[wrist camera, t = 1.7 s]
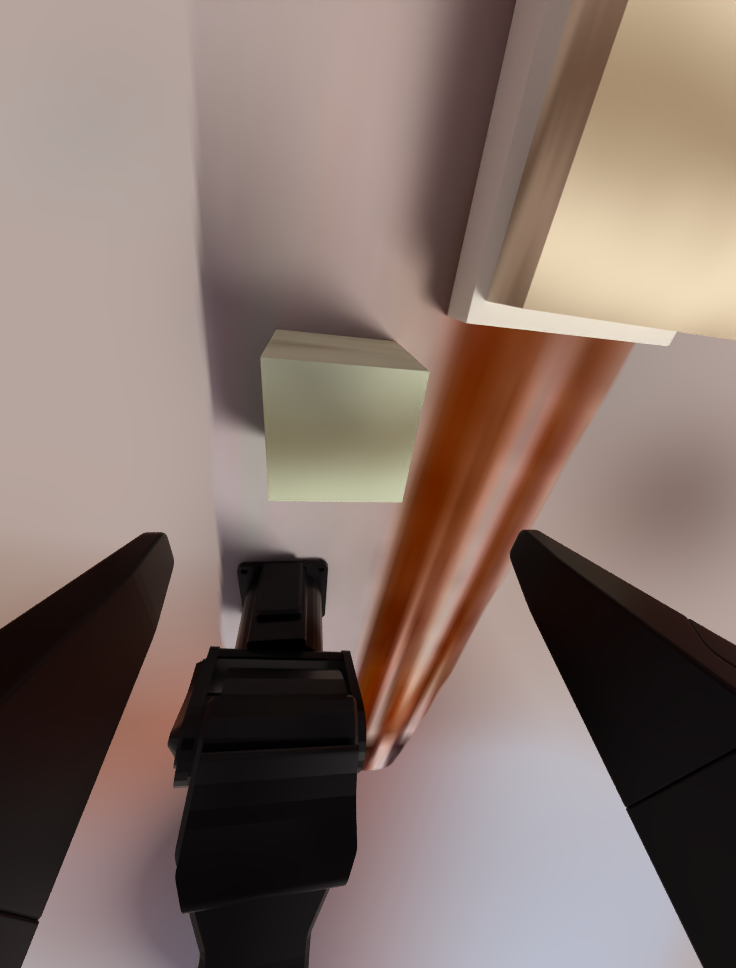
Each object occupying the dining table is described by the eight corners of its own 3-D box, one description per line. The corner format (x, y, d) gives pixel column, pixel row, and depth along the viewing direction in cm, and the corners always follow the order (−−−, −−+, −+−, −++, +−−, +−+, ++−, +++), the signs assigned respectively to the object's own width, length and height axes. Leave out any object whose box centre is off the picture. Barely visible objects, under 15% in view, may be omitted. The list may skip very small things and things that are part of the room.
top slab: (672, 329, 16) (737, 340, 14) (486, 301, 14) (522, 308, 12) (866, -6, 11) (1033, -88, 8) (606, -122, 9) (722, -275, 6)
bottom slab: (622, 335, 19) (668, 345, 16) (444, 314, 17) (466, 322, 14) (769, 37, 13) (876, -16, 11) (521, -48, 11) (581, -138, 9)
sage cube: (379, 444, 20) (401, 502, 15) (280, 440, 19) (268, 501, 14) (395, 341, 17) (429, 371, 12) (276, 328, 16) (260, 357, 11)
